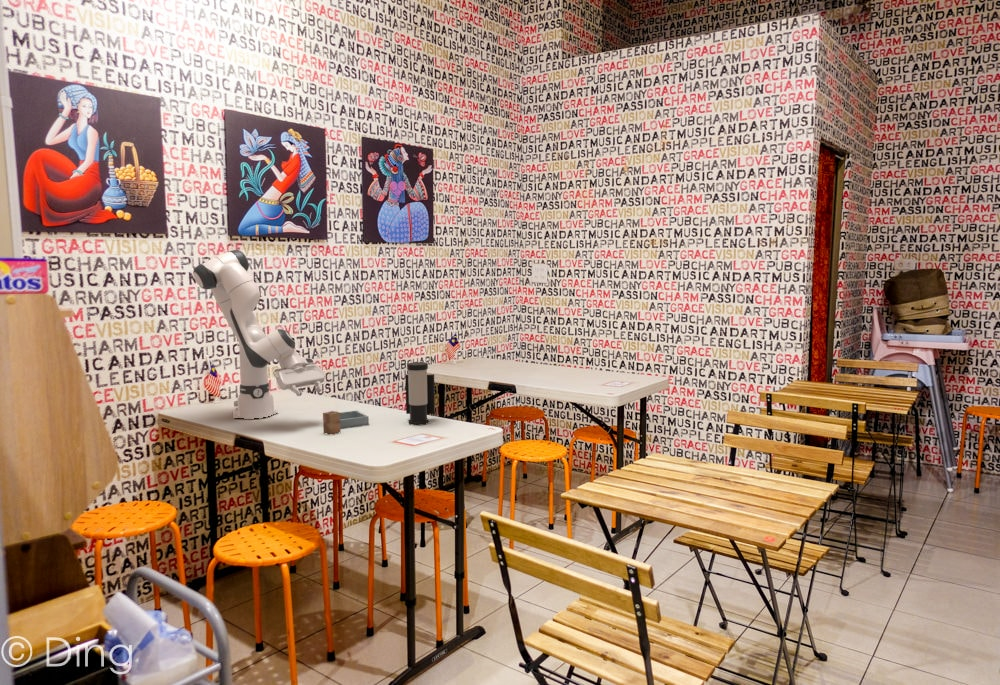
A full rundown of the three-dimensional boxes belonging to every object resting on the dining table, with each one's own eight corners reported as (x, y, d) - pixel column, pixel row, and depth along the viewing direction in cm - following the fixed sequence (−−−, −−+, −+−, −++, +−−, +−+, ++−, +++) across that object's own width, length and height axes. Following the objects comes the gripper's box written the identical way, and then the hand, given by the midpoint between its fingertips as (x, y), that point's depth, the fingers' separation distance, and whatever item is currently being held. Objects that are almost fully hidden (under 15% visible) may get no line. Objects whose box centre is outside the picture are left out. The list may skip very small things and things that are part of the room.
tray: (325, 422, 285) (325, 414, 285) (356, 418, 292) (356, 410, 292) (336, 429, 274) (336, 420, 273) (368, 424, 281) (368, 416, 280)
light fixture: (402, 425, 280) (400, 365, 277) (406, 419, 291) (405, 361, 288) (431, 425, 279) (430, 365, 276) (435, 419, 290) (434, 361, 287)
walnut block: (323, 433, 268) (322, 412, 267) (332, 430, 272) (332, 410, 271) (331, 434, 265) (330, 414, 264) (340, 432, 269) (339, 412, 268)
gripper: (274, 364, 269) (291, 392, 264) (317, 358, 285) (333, 384, 280) (268, 375, 272) (284, 402, 267) (310, 368, 288) (326, 393, 283)
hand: (309, 393), depth 274 cm, fingers open, 8 cm apart
